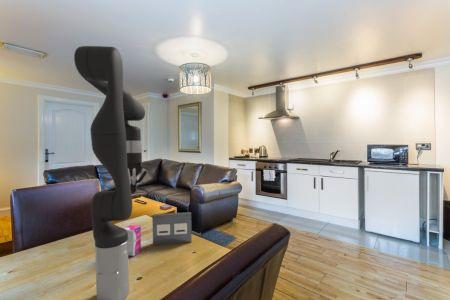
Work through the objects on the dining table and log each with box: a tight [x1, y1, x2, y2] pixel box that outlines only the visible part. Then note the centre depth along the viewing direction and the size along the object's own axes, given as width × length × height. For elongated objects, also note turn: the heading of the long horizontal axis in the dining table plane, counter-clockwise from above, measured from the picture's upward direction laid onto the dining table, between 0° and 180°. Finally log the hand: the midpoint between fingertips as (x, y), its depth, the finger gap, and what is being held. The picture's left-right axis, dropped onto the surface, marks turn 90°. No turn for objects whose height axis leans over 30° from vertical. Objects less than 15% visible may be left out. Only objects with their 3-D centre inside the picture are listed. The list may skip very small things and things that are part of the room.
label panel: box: [151, 211, 193, 246], centre depth 109 cm, size 2×18×14 cm, turn 98°
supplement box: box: [123, 224, 142, 258], centre depth 99 cm, size 6×6×12 cm
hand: (132, 193), depth 94 cm, fingers closed
